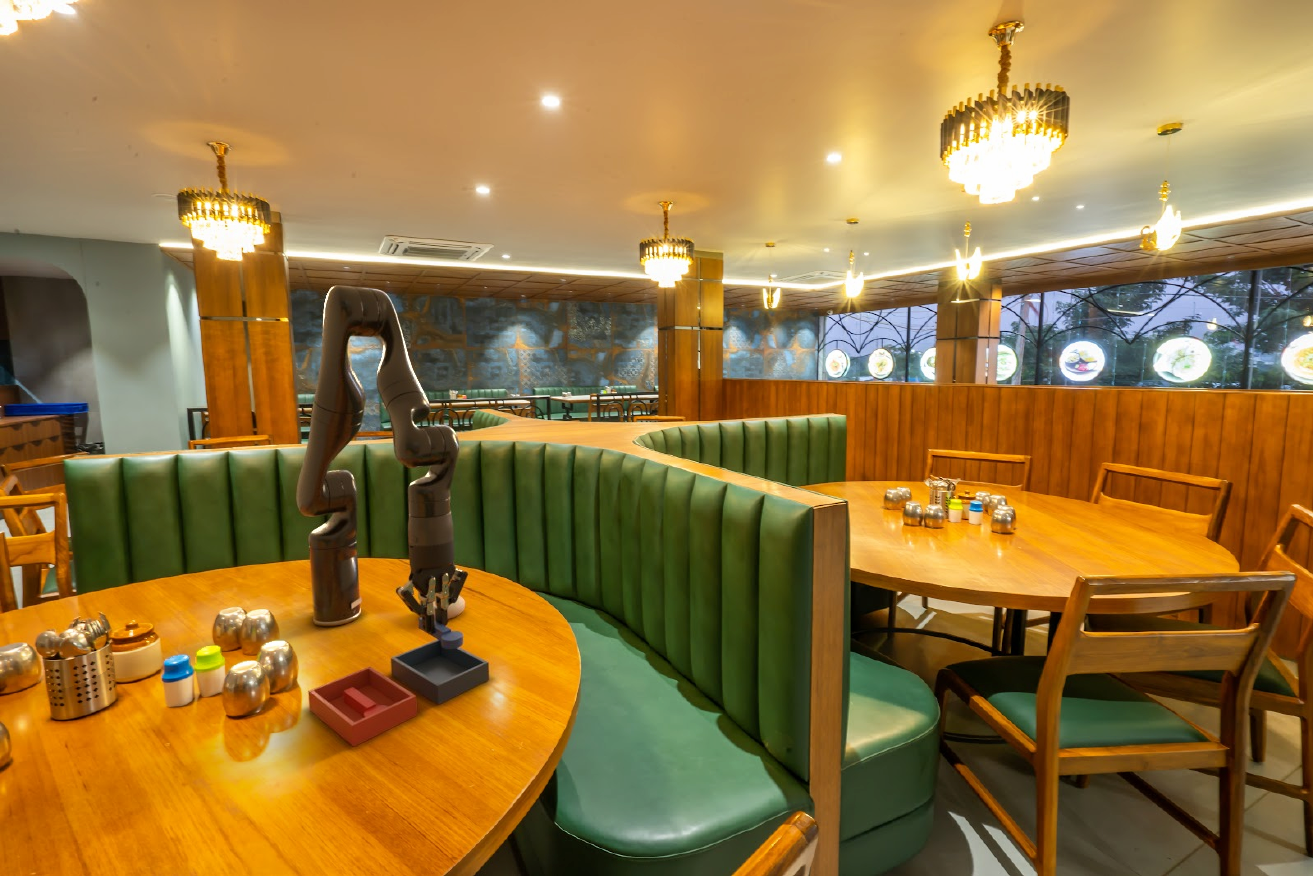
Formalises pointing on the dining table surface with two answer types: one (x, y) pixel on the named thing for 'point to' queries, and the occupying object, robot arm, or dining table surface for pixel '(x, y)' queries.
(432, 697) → the blue tray
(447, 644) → the blue spoon
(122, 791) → the dining table surface
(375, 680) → the red tray
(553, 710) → the dining table surface
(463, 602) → the donut
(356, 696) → the red spoon
